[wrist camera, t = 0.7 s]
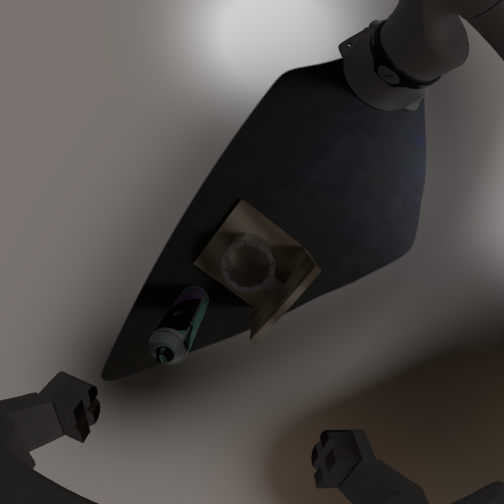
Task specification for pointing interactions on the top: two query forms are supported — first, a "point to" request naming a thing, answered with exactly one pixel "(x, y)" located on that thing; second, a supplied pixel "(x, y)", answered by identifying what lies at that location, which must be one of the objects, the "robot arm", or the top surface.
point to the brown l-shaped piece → (260, 265)
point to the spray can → (179, 326)
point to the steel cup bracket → (251, 281)
